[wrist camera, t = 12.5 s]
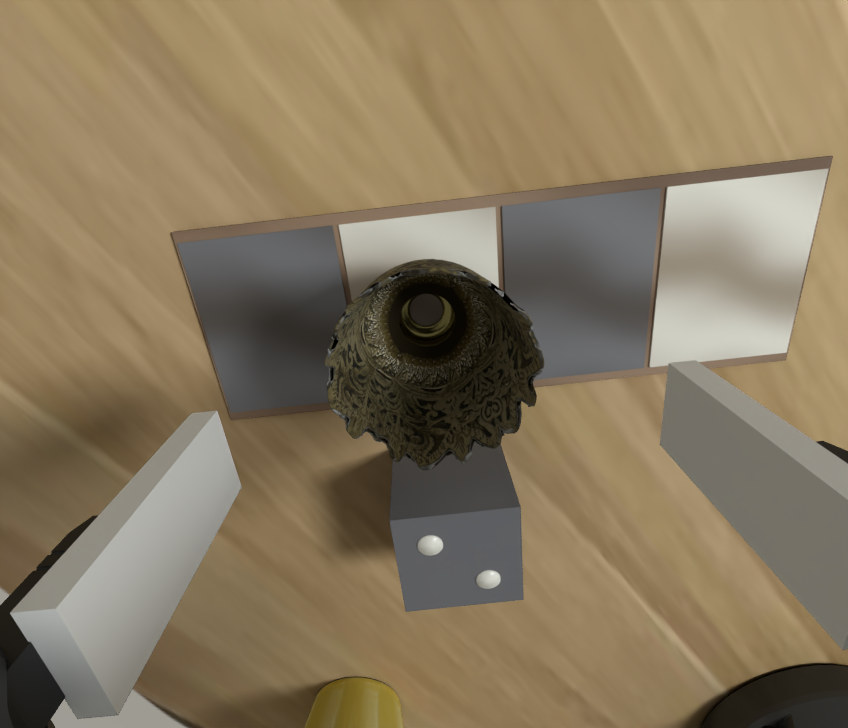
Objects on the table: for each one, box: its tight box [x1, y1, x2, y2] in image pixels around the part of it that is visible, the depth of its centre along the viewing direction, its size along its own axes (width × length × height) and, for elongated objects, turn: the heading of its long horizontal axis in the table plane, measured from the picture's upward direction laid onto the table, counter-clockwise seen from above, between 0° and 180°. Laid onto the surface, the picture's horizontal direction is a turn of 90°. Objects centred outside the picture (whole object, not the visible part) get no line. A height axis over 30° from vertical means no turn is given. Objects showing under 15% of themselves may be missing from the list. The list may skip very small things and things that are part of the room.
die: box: [389, 442, 523, 612], centre depth 25 cm, size 6×6×6 cm
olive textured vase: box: [324, 259, 545, 471], centre depth 19 cm, size 8×7×8 cm
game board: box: [171, 156, 833, 420], centre depth 23 cm, size 10×30×1 cm, turn 96°
